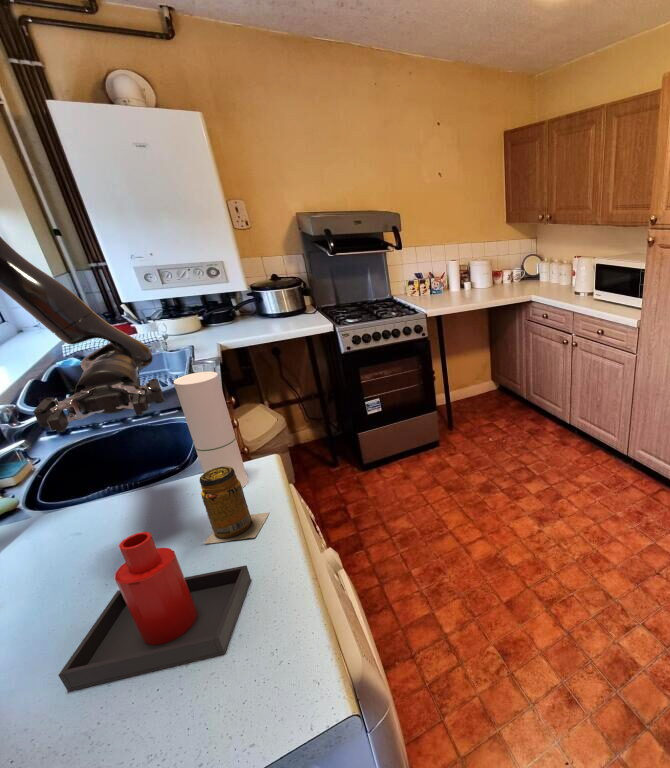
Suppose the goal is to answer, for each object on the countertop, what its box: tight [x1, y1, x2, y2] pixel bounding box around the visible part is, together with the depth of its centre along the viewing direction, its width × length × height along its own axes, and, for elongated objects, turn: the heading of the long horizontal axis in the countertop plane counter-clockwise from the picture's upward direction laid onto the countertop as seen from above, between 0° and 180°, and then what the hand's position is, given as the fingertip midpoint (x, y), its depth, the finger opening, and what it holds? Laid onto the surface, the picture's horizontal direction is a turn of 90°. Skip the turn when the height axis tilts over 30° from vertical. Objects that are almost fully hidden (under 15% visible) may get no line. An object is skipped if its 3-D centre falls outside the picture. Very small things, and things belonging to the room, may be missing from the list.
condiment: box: [199, 466, 270, 545], centre depth 79 cm, size 7×8×12 cm
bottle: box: [114, 531, 197, 645], centre depth 59 cm, size 6×6×15 cm
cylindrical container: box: [173, 371, 249, 489], centre depth 89 cm, size 7×7×25 cm
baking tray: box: [58, 565, 252, 692], centre depth 61 cm, size 17×13×3 cm
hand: (99, 417), depth 62 cm, fingers open, 8 cm apart
